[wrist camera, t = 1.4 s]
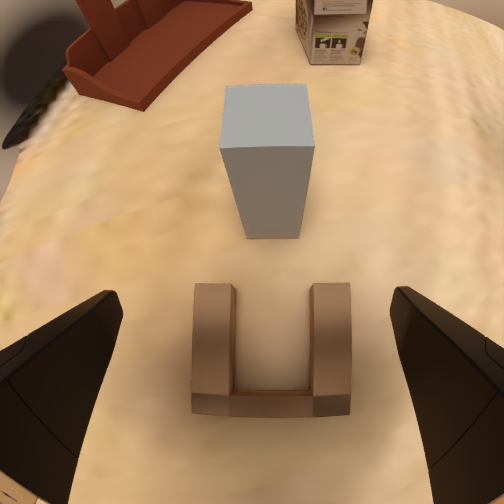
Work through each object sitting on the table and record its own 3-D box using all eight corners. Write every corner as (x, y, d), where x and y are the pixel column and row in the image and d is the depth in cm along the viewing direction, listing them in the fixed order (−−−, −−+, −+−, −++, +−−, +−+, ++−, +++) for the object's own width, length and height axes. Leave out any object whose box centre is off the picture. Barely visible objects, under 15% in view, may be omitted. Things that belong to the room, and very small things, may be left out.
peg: (298, 238, 24) (314, 146, 12) (246, 238, 24) (219, 148, 12) (296, 192, 25) (306, 84, 13) (248, 193, 25) (225, 86, 14)
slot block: (342, 407, 20) (349, 414, 17) (200, 405, 20) (191, 413, 18) (342, 288, 22) (349, 282, 20) (203, 289, 23) (194, 283, 21)
